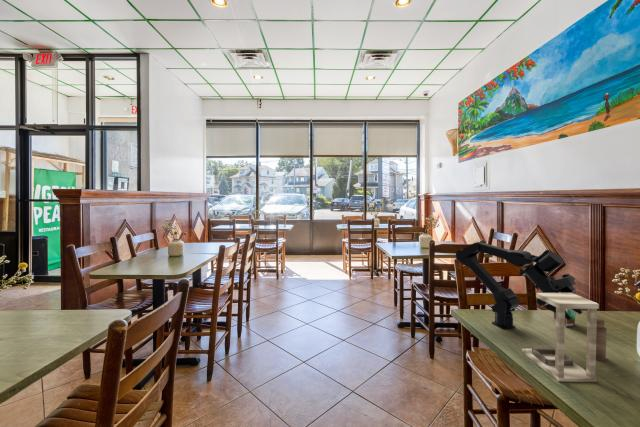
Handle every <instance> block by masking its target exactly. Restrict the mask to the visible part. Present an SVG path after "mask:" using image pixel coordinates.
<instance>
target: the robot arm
mask: <svg viewBox="0 0 640 427" xmlns="http://www.w3.org/2000/svg"><path fill="white" fill-rule="evenodd" d="M480 253H483V254H486V255H489V256H493V257H496V258H500V259H502V260H505V261H506V262H508V264H511V265H513V266H515V267H517V268H518V267H519V268H520V269H519V276H520V277H521V276H526V277H527V278H529V280H530V281H531V282H532V283H533V285H534V286H533V287H534V288H535V289H539V291H540V292H541V293H573V294H576V290H577V289H576V287H574V285H575V286H576V285H577V283H576V281H575V280H576V278H575V277H574V276H573V275H571V274H569V273H564V274H562V275H561V277H560V278H555V276H550V275H548V273H553V271H555V270H556V269H558V268H559V267H561V266H562V265H564V263H565V261H564V259H563V258H562V257H561V256H560V255H559V254H557V253H556V252H554V251H551V249H546V250H545V251H543V252H542V253H541V254H540V255H538V256H537V255H534V254H532V253H531V252H530V251H527V250H518V249H517V250H515V249H508V248H503V247H500V246H496V245H493V244H489V243H485V242H483V241H475V242H473V243H472V244H471V245H468V246H466V247H465V248H463V249H458V250H457V251H456V252H455V259H456V260H457V262H459V263H460V264H461V265H462V266H464V267H467V268H468V269H470V271H471V272H472V273H474V275H475V276H476V277H477V278H478V279H479V281H481V282H482V284H483V285H484V286H485V287H486V288H487V289H488V291H489V292H491V293H492V296H493V300H494V302H495V303H494V304H493V305H492V306H491V310H492V312H493V313H494V321H491V324H493V325H495V326H497V327H498V328H500V329H502V330H505V329H514V328H516V327H517V326H516V325H514V317H513V312H514V311H515V310H516V309H517V308H518V307H519V306H520V299H519V297H518V295H517V294H516V293H515V292H514V291H513V289H512V288H504V287H503V286H502V285H501V284H500V283H499V282H498V281H497V280H496V279H495V278H494V277H493V276H492V274H490V273H489V271H488V269H486V268H485V267H484V266H483V265H482V264H481V262H480V261H479V257H478V255H479V254H480ZM525 266H526V267H525ZM522 267H525V268H522ZM547 272H548V273H547ZM536 303H537V304H536V305H538V306H539V307H542V308H543V309H547V310H549V311H551V312H552V313H554V312H555V313H556V307H555V306H553V305H551V304H549V303H547V302H545V301H543V300H541V299H539V298H537V297H536ZM572 310H574V311H575V312H576V314H578V315H581V314H583V311H582V309H572ZM565 318H566V319H568V320H569V319H571V317H570V315H569V314H568V313H567V311H566V310H565Z"/></svg>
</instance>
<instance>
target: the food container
mask: <svg viewBox="0 0 640 427" xmlns="http://www.w3.org/2000/svg"><path fill="white" fill-rule="evenodd" d="M565 310H566V311H567V313H568V314H569V315H570V317H571V319H569V320H568V319H566V318H565V328H574V327H575V326H576V317H577V316H576V315H577V312H575V311H574V310H572V309H565ZM553 319H554V320H555V321H556V313H555V312H553Z"/></svg>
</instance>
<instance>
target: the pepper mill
mask: <svg viewBox="0 0 640 427" xmlns="http://www.w3.org/2000/svg"><path fill="white" fill-rule="evenodd" d="M607 331H608V330H607V327H605V319H603V318H599V317H597V330H596V361H606V358H607Z"/></svg>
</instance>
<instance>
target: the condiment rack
mask: <svg viewBox="0 0 640 427" xmlns="http://www.w3.org/2000/svg"><path fill="white" fill-rule="evenodd" d="M535 294H536V299H537V298H539V299H541V300H543V301H545V302H547V303H549V304H551V305H553V306H555V307H556V320H555V348H554V347H553V348H550V347H549V348H548V347H546V348H544V347H542V348H541V347H531V348H521V352H522V353H523V354H524V355H525V356H527V357H528V358H529V359H531V360H532V361H533V362H534V363H535V364H536V365H538V366H539V367H540V368H542V370H544V371H545V372H546V373H547V374H549V375H550V376H551V377H552V378H553V379H555V380H556V381H557V382H572V383H573V382H576V383H577V382H581V383H582V382H583V383H585V382H588V383H589V382H590V383H593V382H594V383H595V382H596V383H597V382H598V378H597V377H596V368H597V367H596V363H597V360H596V330H597V318H598V310H599V309H600V308H599V306H600V304H599V303H597V302H595V301H593V300H590V299H589V298H585V297H584V296H581V295H578V294H576V293H575V294H573V293H542V292H536V293H535ZM565 309H581V310H587V312H586V314H587V315H586V354H585V355H586V356H585V357H586V359H585V360H586V361H585V369H584V368H583V367H581V366H579V365H578V364H577V363H575V361H574V360H573V359H572V358H570V357H569V356H568V355H566V354H565V340H566V339H565V337H566V336H565V335H566V334H565V333H566V331H565V330H566V327H565Z"/></svg>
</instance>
